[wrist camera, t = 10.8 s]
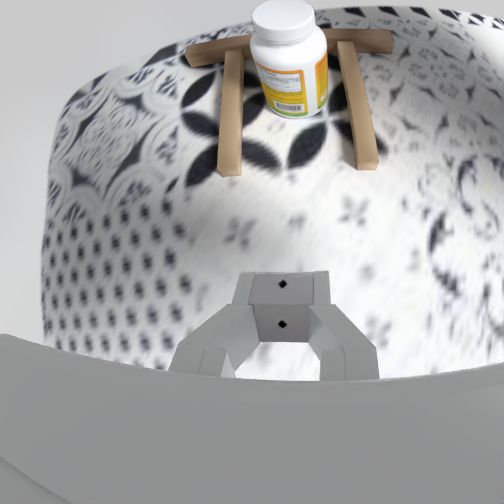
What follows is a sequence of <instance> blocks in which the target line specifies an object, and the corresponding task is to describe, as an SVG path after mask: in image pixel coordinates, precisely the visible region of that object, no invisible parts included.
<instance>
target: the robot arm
mask: <svg viewBox="0 0 504 504" xmlns="http://www.w3.org/2000/svg"><path fill="white" fill-rule="evenodd" d="M260 342H305V343H309V345H310V346H311V348H312V349H313V351H314V352H315V354H316V356H317V357H318V359H319V360H320V377H319V381H279V380H257V379H241V378H236V377H235V374H234V372H235V371H236V370H237V368H238V367H239V366H240V365H241V364H242V363H243V362H244V361H245V359H246V358H247V357H248V356H249V355H250V354H251V353H252V351H253V350H254V349H255V348H256V347H257V346H258V345H259V343H260ZM0 504H504V362H503V363H498V364H493V365H488V366H483V367H477V368H471V369H465V370H459V371H452V372H445V373H437V374H429V375H420V376H411V377H400V378H387V379H379V370H378V361H377V353H376V347H375V346H374V345H373V344H372V343H371V342H370V341H369V340H368V339H367V338H366V337H365V335H364V334H363V333H362V332H361V331H360V330H359V329H358V328H357V327H356V326H355V325H354V324H353V323H352V322H351V321H350V320H349V319H348V318H347V316H346V315H345V314H344V313H343V312H342V311H341V310H340V309H339V308H338V307H337V306H336V305H335V304H331V300H330V281H329V272H328V271H314V278H313V272H242V273H241V274H240V276H239V280H238V283H237V287H236V290H235V294H234V297H233V301H232V304H227V305H226V306H225V307H223V308H222V309H221V310H220V311H218V312H217V313H216V314H215V315H213V316H212V317H211V318H210V319H208V320H207V321H206V322H205V323H203V324H202V325H201V326H200V327H198V328H197V329H196V330H195V331H193V332H192V333H191V334H190V335H188V336H187V337H186V338H184V339H183V340H182V341H181V342H179V344H178V347H177V349H176V352H175V354H174V357H173V359H172V362H171V365H170V367H169V370H168V371H165V370H158V369H152V368H145V367H139V366H133V365H128V364H122V363H117V362H112V361H107V360H102V359H97V358H93V357H88V356H84V355H79V354H75V353H71V352H67V351H63V350H59V349H55V348H51V347H48V346H44V345H40V344H37V343H33V342H30V341H26V340H23V339H20V338H17V337H14V336H11V335H8V334H0Z"/></svg>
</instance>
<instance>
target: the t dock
mask: <svg viewBox="0 0 504 504" xmlns="http://www.w3.org/2000/svg"><path fill="white" fill-rule="evenodd" d="M321 30H322V31H323V33H324V35H325V37H326V42H327V52H337V54H338V59H339V63H340V68H341V73H342V78H343V83H344V88H345V93H346V99H347V104H348V110H349V116H350V122H351V129H352V136H353V143H354V150H355V158H356V166H357V170H376V168H377V166H378V163H379V158H378V152H377V146H376V140H375V134H374V129H373V124H372V118H371V113H370V109H369V104H368V99H367V95H366V90H365V86H364V82H363V78H362V74H361V70H360V66H359V62H358V58H357V55H356V52H368V53H387V54H391V53H392V48H393V43H394V39H393V36H392V34H391V32H390V31H387V30H373V29H321ZM252 35H253V34H250V35H243V36H236V37H230V38H224V39H219V40H214V41H208V42H204V43H199V44H194V45H190V46H187V47H186V52H185V57H186V59H187V60H188V62H189V64H190V66H191V67H192V68H193V67H198V66H203V65H208V64H214V63H220V62H225V64H224V75H223V87H222V100H221V114H220V128H219V143H218V160H217V170H218V171H219V173H220V174H221V175H222V176H223V177H225V176H237V175H241V158H242V121H243V89H244V60H245V59H246V58H253V57H252V53H251V50H250V40H251V37H252Z"/></svg>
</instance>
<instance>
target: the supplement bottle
mask: <svg viewBox="0 0 504 504" xmlns="http://www.w3.org/2000/svg"><path fill="white" fill-rule="evenodd" d="M252 22H253V26H254V30H255V32H254V33H253V35H252V37H251V40H250V50H251V53H252V57H253V60H254V62H255V65H256V69H257V72H258V75H259V78H260V81H261V85H262V88H263V91H264V94H265V98H266V101H267V103H268V105H269V107H270V108H271V109H272V110H273V111H274V112H275V113H277V114H278V115H280V116H283V117H286V118H290V119H303V118H308V117H311V116H313V115H315V114H316V113H318V112H319V111H320V110H321V109H322V108H323V107H324V106H325V104H326V102H327V98H328V65H327V42H326V37H325V35H324V33H323V31H322V30H321V29H320V28H319V27H318V26H317V25H316V22H315V15H314V10H313V8H312V6H311V5H310V4H309V3H307V2H305V1H303V0H268V1H266V2H264V3H261V4H260V5H258V7H256V8H255V9H254V11H253V13H252Z"/></svg>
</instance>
